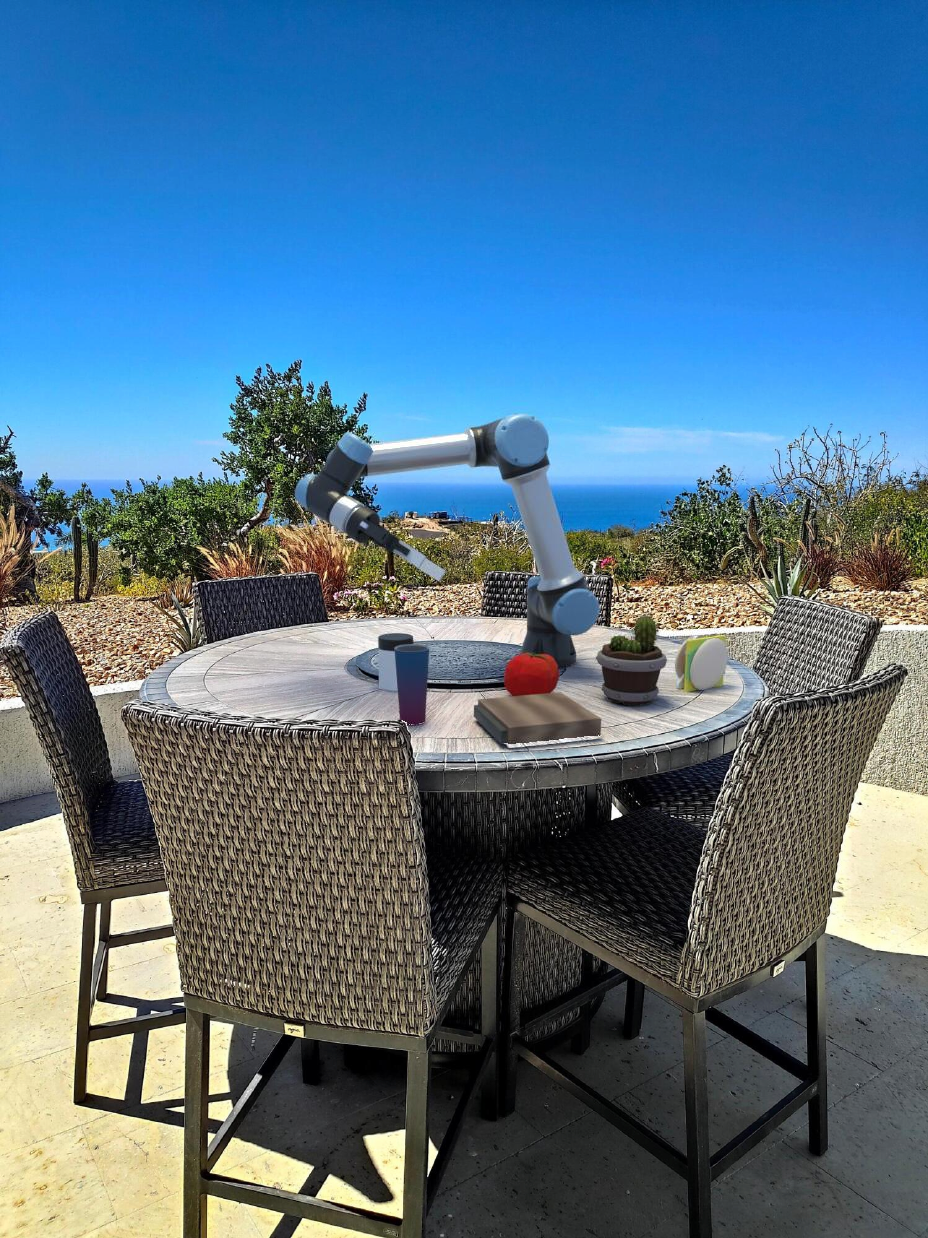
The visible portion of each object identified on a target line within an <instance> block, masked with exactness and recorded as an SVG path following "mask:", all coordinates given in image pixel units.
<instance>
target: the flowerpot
mask: <svg viewBox="0 0 928 1238" xmlns="http://www.w3.org/2000/svg"><path fill="white" fill-rule="evenodd" d="M642 614H643V615H642ZM656 623H659V621H658V620H656V618H655V620H654V618H652V613H651V612H648V610H646V611H645V612H641V613H640V615H639V616H637V618H635V619H634V623H633V624H634V625H633V624H632V626H631V628H632V629H630V630H632V632H633V633H631V634H629V635H627V636H628V637H626V635H622V632H620V633H619V634H618V633H616V632H614V633H613V635H612V634H611V635H610V636H612V637H610V642H609V643H607V644H603V645H602V649H601V650H598V651H597V655H596V656H595V660H597V663H598V664H599V665H600V666H601V673H602V677H603V683H602V684H601V688H600V689H601V691H602V692H603V695H604V696H605V697H606V699H607V701H609V702H611V703H614V704H618V703H622V704H623V705H624V706H636V707H638V706H646V705H649V704H652V702H653V700H654V699H655V698H657V696H658V694H659V693H660V691H659V690H660V689H659V687H658V685H657V684H658V681H659V678H660V673H661V670H662V669H664V668H665V667H666V665H667V661H668V659H667V656H666V655H665V653H663V651H662V649H660V647H659V646H658V645H656V643H658V639H659V635H660V633H659V632H660V628H659V626H661V625H659V624H656ZM615 634H616V635H615Z"/></svg>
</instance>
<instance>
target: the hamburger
mask: <svg viewBox="0 0 928 1238" xmlns="http://www.w3.org/2000/svg"><path fill="white" fill-rule="evenodd" d="M726 640H727V635H726V634H723V635H722V634H721V635H714V636H707V637H706V636H703V635H693V636H690V637H689V638H687V639H685V641H683V643H682V644H681V645H680V646H679V647H678V650H677V652H676V655H675V659H674V671H675V674H676V676H677V678H678V679H677V682H676V686H675V687H676V689H679V690H682V689H683V692H684V693H689V692H693V691H699V690H700V691H706V690H709V689H711V688H715V687H720V686H723V685H724V675H725V674H726V669H727V665H728V661H729V652H728V647H727V645H726V642H727V641H726Z"/></svg>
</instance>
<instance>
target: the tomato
mask: <svg viewBox="0 0 928 1238" xmlns="http://www.w3.org/2000/svg"><path fill="white" fill-rule="evenodd" d="M504 670H505V671H504V676H503V683H504V687H505V689H506V691H507V693H508V694H509V695H511V697H512V696H523V695H535V694H546V693H553V692H554V690H555V689H556V688H557V685H558V683H559V679H560V670H559V667H558V665H557V663H556V662H555V660H554V658H553V657H551V656H550V655H547V654H535V653H528V652H527V653H522V654H520V653H518V654H516V655H515V656H514V657H513V658H512V659H510V660H509V662H508V663H507V665H506V666H505V669H504Z"/></svg>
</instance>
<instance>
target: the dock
mask: <svg viewBox="0 0 928 1238" xmlns="http://www.w3.org/2000/svg"><path fill="white" fill-rule="evenodd" d="M473 717H474V719H475V720H477V722H479V723H480V725H481V726H483V728H484V729H486V730H487V732H489V734H491V736H493V738H494V739H496V741H497V742H499V743H500V744H501V743H508V744H516V743H529V742H537V741H549V740H559V739H564V738H577V737H584V736H598V735H599V736H600V735H601V736H602V731H601V730H602V718H601V717H599V716H598V715H596V714H595V713H593V712H592V711H590V710H589V709H587V708H586V707H585V706H583V705H581V704H580V703H578V702H577V701H575V700H573V699H572V698H570V697H569V696H568V695H565V694H564V693H563V692H560V691H559V692H551V693H546V694H535V695H523V696H512V695H511V696H502V697H492V698H481V699H477V704H474V705H473Z"/></svg>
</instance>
